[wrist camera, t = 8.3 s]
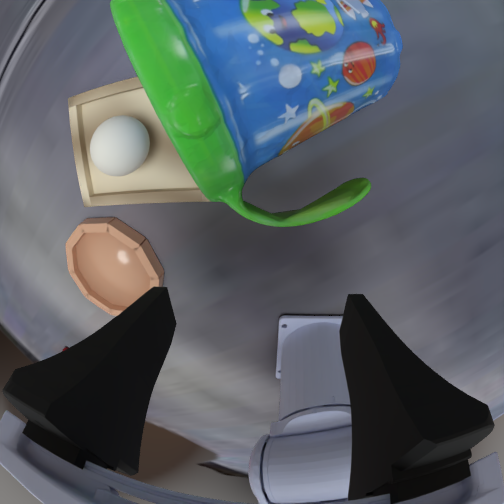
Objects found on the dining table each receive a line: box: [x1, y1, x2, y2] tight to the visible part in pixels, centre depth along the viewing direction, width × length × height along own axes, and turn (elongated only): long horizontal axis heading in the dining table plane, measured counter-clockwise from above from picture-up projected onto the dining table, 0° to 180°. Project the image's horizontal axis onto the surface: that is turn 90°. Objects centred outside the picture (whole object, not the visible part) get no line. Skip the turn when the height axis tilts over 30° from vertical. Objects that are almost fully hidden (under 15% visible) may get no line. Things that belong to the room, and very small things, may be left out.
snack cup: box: [110, 0, 403, 227], centre depth 10 cm, size 16×10×10 cm
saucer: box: [66, 217, 164, 316], centre depth 23 cm, size 10×10×1 cm
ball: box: [90, 115, 150, 176], centre depth 15 cm, size 4×4×4 cm
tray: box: [68, 77, 212, 207], centre depth 17 cm, size 9×11×1 cm
